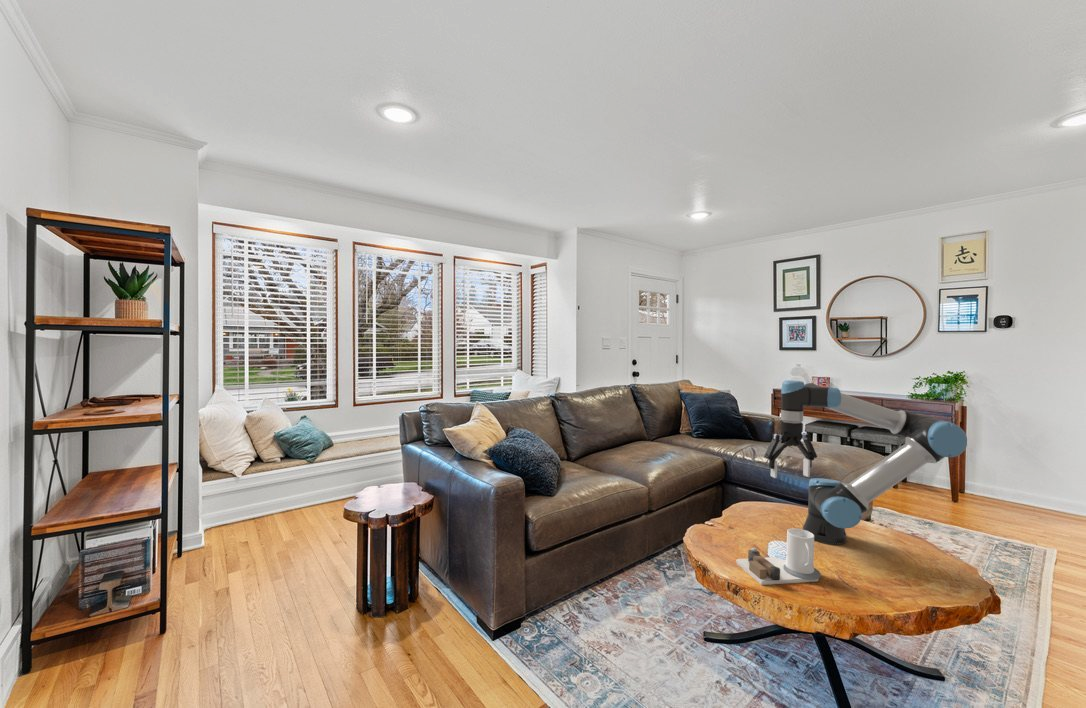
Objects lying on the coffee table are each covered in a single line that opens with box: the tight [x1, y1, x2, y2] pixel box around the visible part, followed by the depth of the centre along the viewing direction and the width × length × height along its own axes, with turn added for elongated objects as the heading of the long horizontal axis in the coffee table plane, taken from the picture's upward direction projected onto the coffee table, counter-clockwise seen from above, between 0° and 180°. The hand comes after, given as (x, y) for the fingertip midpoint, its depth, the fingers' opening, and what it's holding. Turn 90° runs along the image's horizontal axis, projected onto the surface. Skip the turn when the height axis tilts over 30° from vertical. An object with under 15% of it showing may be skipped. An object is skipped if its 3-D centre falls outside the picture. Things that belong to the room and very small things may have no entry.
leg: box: [747, 549, 780, 580], centre depth 156 cm, size 14×4×3 cm, turn 9°
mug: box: [785, 527, 815, 574], centre depth 156 cm, size 12×8×12 cm
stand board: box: [735, 547, 822, 586], centre depth 157 cm, size 23×16×6 cm
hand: (790, 476), depth 177 cm, fingers open, 13 cm apart
